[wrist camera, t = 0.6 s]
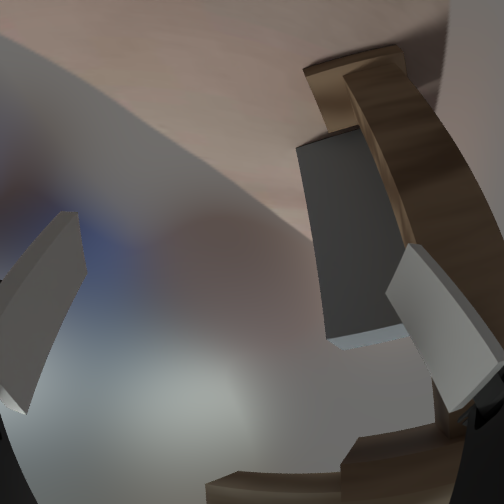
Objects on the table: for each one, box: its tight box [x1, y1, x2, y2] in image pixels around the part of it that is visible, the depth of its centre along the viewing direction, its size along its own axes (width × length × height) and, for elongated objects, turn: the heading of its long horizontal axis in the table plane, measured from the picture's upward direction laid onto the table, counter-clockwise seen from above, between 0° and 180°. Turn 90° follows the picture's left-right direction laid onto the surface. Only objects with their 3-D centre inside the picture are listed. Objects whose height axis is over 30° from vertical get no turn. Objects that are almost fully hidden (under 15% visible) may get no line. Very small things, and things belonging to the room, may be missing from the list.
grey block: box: [296, 129, 410, 350], centre depth 27 cm, size 8×11×20 cm
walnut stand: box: [303, 45, 504, 502], centre depth 17 cm, size 7×11×30 cm, turn 116°
